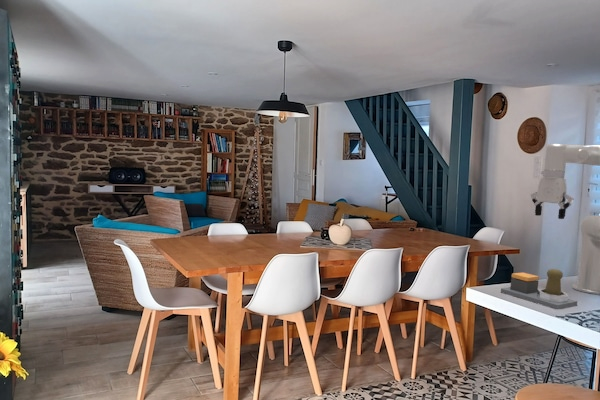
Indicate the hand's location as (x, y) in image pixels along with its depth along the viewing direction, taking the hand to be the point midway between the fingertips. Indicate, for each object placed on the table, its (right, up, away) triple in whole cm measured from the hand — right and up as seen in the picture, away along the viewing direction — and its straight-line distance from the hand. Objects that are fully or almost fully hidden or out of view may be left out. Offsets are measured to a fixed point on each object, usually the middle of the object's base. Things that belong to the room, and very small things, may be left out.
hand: (549, 217), depth 201 cm
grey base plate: (-10, -31, -11) cm, 34 cm away
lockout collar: (-7, -30, -15) cm, 34 cm away
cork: (-7, -30, -15) cm, 34 cm away
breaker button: (-13, -27, -6) cm, 30 cm away
